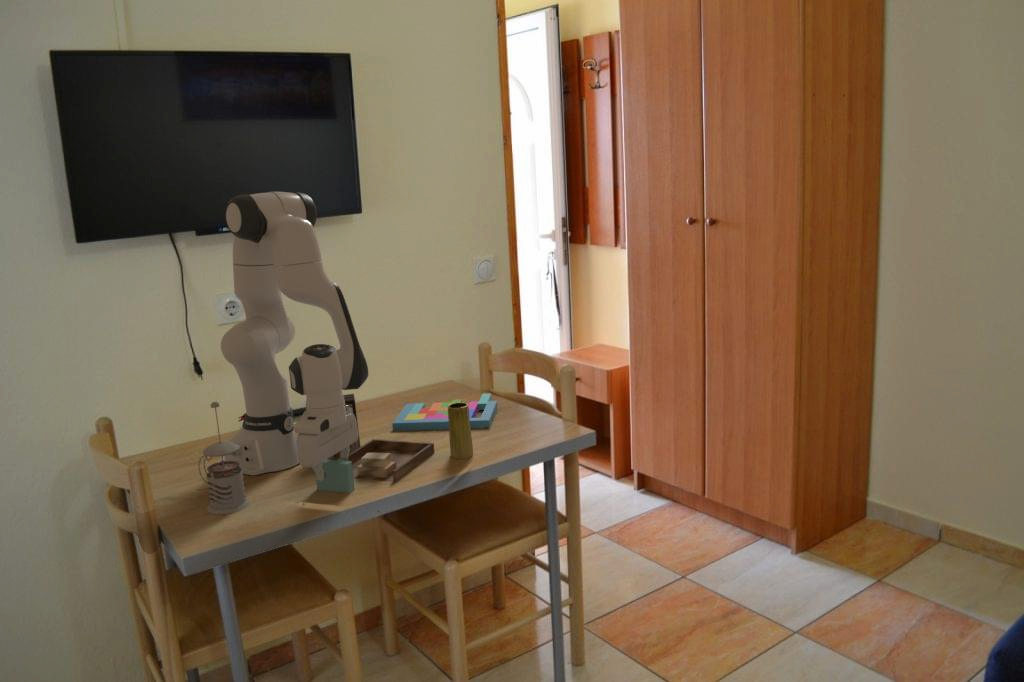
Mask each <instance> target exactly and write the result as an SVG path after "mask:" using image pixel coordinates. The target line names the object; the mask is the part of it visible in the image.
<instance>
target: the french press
mask: <svg viewBox="0 0 1024 682" xmlns="http://www.w3.org/2000/svg"><path fill="white" fill-rule="evenodd" d="M210 408H212V409H214V411H215V419H216V424H217V425H216V426H217V434H218V441H219V442H214V443H212V444H210V445H208V446H207V447H205V448H204V449H203V450H202V454H203V455H202V456H201V457H200V458H199V460H198V466H197V467H198V471H199V475H200V477H201V479H202V481H203V482H204V483H205V484H207V489H208V495H209V501H210V503H209V505H208V506H207V508H206V511H207V513H209V512H210V513H209V514H212V513H213V514H212V515H227V514H233V513H237V512H239V511H240V512H241V511H242V510H244V509H246V508H248V507H249V506H251V502H252V501H251V500H250V499H249V498H248V497H246V491H245V490H246V488H245V485H244V484H245V481H244V474H243V473H242V469H241V468H240V467H239V465H240V463H239V462H237V461H224V462H223V457H225V456H226V455H230V454H233V453H235V452H237V451H238V450H239V447H240V446H239V445H237V444H235V443H233V442H227V440H226V441H221V434H220V429H219V428H220V427H219V420H218V413H217V412H218V411H217V408H220V403H219V402H218V401H212V402H211V404H210ZM208 457H210V458H208ZM215 457H216V458H218V457H221V459H222V462H218V461H217V462H218V463H217V462H215V463H212V464H210V465H208V467H207V468H206V464H205V462H206V461H210V460H212V459H213V458H215ZM202 459H203V470H204V472H205V474H206V480H207V481H206V480H205V479H204V478H203V475H202V473H201V469H200V468H201V467H200V465H201V461H202ZM232 470H233V471H232ZM207 471H208V472H207ZM234 471H237V472H234ZM229 472H232V473H229ZM226 473H228V474H226ZM212 474H213V475H212ZM225 474H226V475H225ZM212 476H213V478H212ZM213 485H214V486H213ZM214 490H215V491H214Z"/></svg>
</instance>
